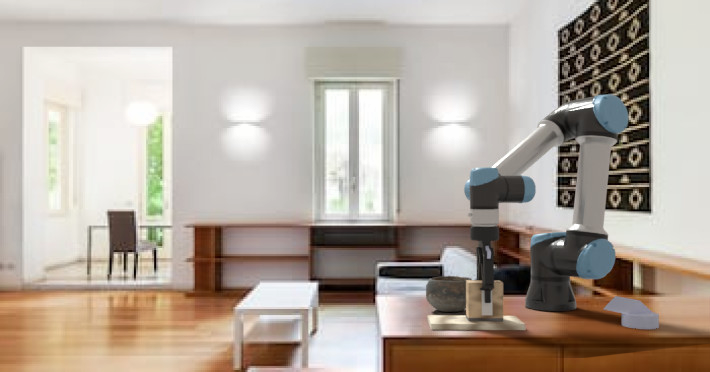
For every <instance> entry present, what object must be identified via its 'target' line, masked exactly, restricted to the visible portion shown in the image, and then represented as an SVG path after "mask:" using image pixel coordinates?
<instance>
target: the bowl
mask: <svg viewBox="0 0 710 372" xmlns="http://www.w3.org/2000/svg"><path fill="white" fill-rule="evenodd" d="M466 280H473V279H472V278H471V277H465V276H458V275H457V276H455V275H447V276H445V275H443V276H436V277H432V278H431V277H430V278H429V279H428V281H427V283H426V285H425V297H426V301H427V302H428V303H429V304H430V306H432V308H434V309H435V310H436V311H439V312H443V313H449V312H452V313H454V312H456V313H457V312H462V311H465V310H466Z"/></svg>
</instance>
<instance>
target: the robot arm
mask: <svg viewBox="0 0 710 372" xmlns="http://www.w3.org/2000/svg"><path fill="white" fill-rule="evenodd" d="M628 124H629V114H628V110H627V106H626V105H625V104H624V102H623V100H622V99H621V98H620V97H619V96H616V95H614V94H610V93H609V94H597V95H594V96H590V97H585V98H581V99H580V98H579V99H574V100H570V101H568V102H565V103H563V104H562V105H560V106H558V107H557V108H555V110H553V111H551V112H550V113H549V114H548V115H546V116H545V117H544V118H543V119H542V120H540V121H539V122H538V123H537V127H536V129H535V130H534V131H532V132H531V133H530V134H529V135H527V136H526V137H525V138H524V139H523V140H522V141H520V142H519V143H518V144H517V145H515V147H513V148H512V149H511V150H510V151H509V152H508V153H506V154H505V155H504V156H503V157H502V158H501V159H499V160H498V161H496V162H495V163H494V165H492V166H491V167H473V168H472V169H470V172H469V179H468V180H467V181H466V182H465V185H464V189H463V191H464V193H463V194H464V195H465V198H466V199H467V200H468V201H469V206H470V207H469V210H470V211H469V212H468V213H467V217H469V219H470V221H469V223H470V224H471V226H470V228H469V238H470V240H471V241H478V245H477V246H476V248H475V252H476V254H475V255H476V280H482V288H480V290H481V298H482V315H493V309H492V289H494V280H495V279H494V278H495V277H494V272H495V271H494V269H495V268H494V267H495V266H494V263H495V262H494V259H495V258H494V257H495V252H494V247H492V244H491V242H492V241H494V242H496V241H499V240H500V228H499V226H498V225H499V224H500V209H499V207H500V204H524V203H525V204H526V203H529V202H531V201H533V199H534V198H535V196H536V193H537V189H536V188H537V187H536V183H535V181H534V180H533V178H531V177H530V176H527V175H522V174H524V173H525V172H526V171H527V170H528V169H530V167H532V166H533V165H534V164H535V163H537V162H538V161H539V160H540V159H541V158H543V156H545V155H546V154H547V153H548V152H549V151H550V150H551V149H553V148H554V147H555V148H556V147H560V146H561V145H563V144H564V143H565V142H566V141H569V140H573V139H575V141H576V142H577V144H579V153H578V162H577V163H578V164H577V175H576V184H575V192H574V193H575V195H574V204H573V214H572V222H571V225H570V226H569V227H567V229H566V230H565V231H560V232H559V231H557V232H556V231H555V232H543V233H536V234H533V235H532V236H531V238H530V246H529V250H530V252H529V253H530V282H529V287H528V290H527V292H526V296H525V300H524V303H525V305H524V306H525V308H528V309H531V310H537V311H545V312H546V311H547V312H548V311H549V312H568V311H575V310H577V301H576V297H575V294H574V290H573V288H572V285H571V277H573V278H578V279H579V278H580V279H583V280H600V279H603V278H604V277H606V276H607V274H609V273H610V272H611V271H612V269H614V268H613V267H614V265H615V262H616V249H615V248H614V245H613V244H612V242H611V241H610V240H609V234H608V232H607V231H606V230H605V229H604V226H605V214H606V213H605V212H606V204H607V202H606V201H607V192H608V181H609V171H610V161H611V150H612V147H614V145H615V144H616V143H618V136H619V134H621V133H622V132H624V131H625V129H627V127H628Z"/></svg>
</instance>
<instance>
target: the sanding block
mask: <svg viewBox="0 0 710 372" xmlns="http://www.w3.org/2000/svg"><path fill="white" fill-rule="evenodd" d="M480 288H482V280H477V279H476V280H473V279H472V280H466V309H465V315H466V318H467V319H468V321H503V316H504V282H503V281H501V280H495V279H494V289H492V309H493V315H482V298H481V290H480Z"/></svg>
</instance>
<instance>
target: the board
mask: <svg viewBox="0 0 710 372" xmlns="http://www.w3.org/2000/svg"><path fill="white" fill-rule="evenodd" d="M426 317H427V320H426V321H427V323H428V326H429V328H430V330H433V331H435V330H436V331H437V330H438V331H439V330H440V331H441V330H442V331H443V330H444V331H445V330H446V331H447V330H449V331H454V330H455V331H457V330H459V331H467V330H470V331H526V329H527V328H526V326H527V325H526V323H524V321H522V320H521V319H520V318H518V317H517V316H516V315H503V321H468V319H467V318H466V314H464V315H462V314H461V315H457V314H456V315H455V314H454V315H445V314H444V315H443V314H442V315H441V314H440V315H438V314H429V315H427V316H426Z"/></svg>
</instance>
